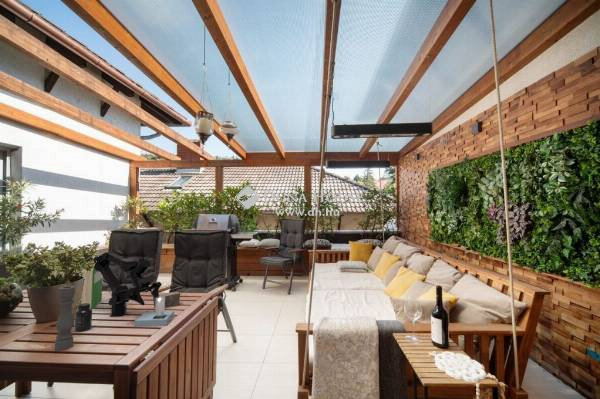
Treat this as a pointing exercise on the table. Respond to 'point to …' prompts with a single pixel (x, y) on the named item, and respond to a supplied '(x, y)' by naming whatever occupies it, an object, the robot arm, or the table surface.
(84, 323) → the supplement bottle
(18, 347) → the table surface
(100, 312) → the table surface
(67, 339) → the candle holder
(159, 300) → the polished metal rod
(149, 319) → the jig plate
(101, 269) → the robot arm
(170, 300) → the stone block
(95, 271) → the hardback book
